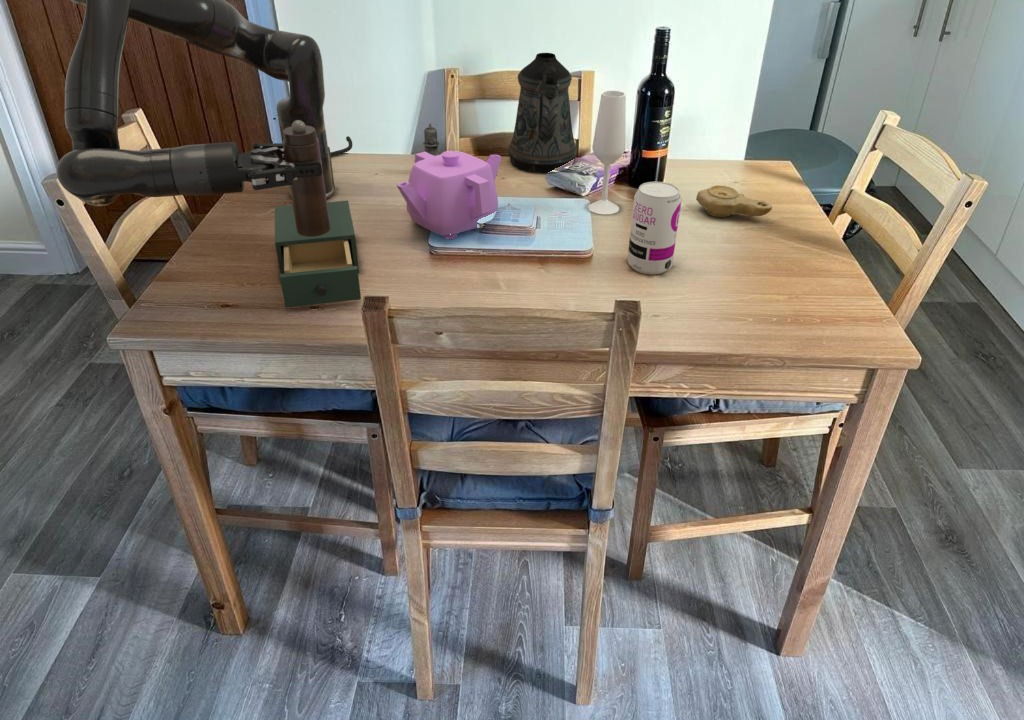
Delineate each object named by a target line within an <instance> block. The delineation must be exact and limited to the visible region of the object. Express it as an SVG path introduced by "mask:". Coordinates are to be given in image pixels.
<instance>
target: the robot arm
mask: <svg viewBox="0 0 1024 720" xmlns="http://www.w3.org/2000/svg"><path fill="white" fill-rule="evenodd" d="M70 1H71V2H72V3H74V4H76V5H79V6H81V7H85V10H84V16H83V22H82V26H81V30H80V33H79V36H78V39H77V42H76V43H75V47H74V50H73V52H72V55H71V57H70V60H69V63H68V66H67V67H68V68H67V71H66V75H65V76H66V77H65V82H64V83H65V85H64V124H65V128H66V130H67V132H68V134H69V137H70V138H71V142H72V151H69V152H67V153H66V154H64V155H63V156H62V157H61V158H60V160H59V161H58V163H57V166H56V177H57V179H58V182H59V183H60V185H61V186H62V188H63V189H64V190H65V191H66V192H68V193H69V194H70V195H72V196H74V197H75V198H77V199H79V200H80V201H82V202H83V203H85V204H87V205H89V206H94V207H104V206H109V205H110V204H113V203H114V202H115V201H116V200H117V199H118V198H119V196H120V195H128V194H131V195H132V194H134V195H140V196H142V197H147V198H164V197H165V198H167V197H177V196H178V197H179V196H194V197H195V196H196V197H197V196H198V197H199V196H211V195H224V194H234V193H236V194H237V193H242V192H243V191H244V190H245V183H246V182H248V183H251V185H252V190H254V191H261V190H267V189H274V188H280V187H286V186H288V188H290V185H292V184H293V180H297V179H298V178H300V177H313V176H321V175H322V170H323V177H324V185H325V192H326V200H328V199H330V198H331V197H333V196H334V193H335V189H336V188H335V187H336V185H335V179H334V178H335V177H334V171H333V163H332V157H334V156H339V155H343V154H345V153H348V152H350V151H351V150H352V149H353V141H352V138H351V137H350V136H349V135H348V136H346V137H345V140H346V142H347V143H348V145H347V147H345V148H342V149H338V150H333V151H331V148H330V146H329V144H328V137H327V136H328V135H327V129H326V128H327V127H326V122H325V115H324V105H325V98H326V91H325V90H326V89H325V77H324V64H323V56H322V52H321V49H320V46H319V44H318V43H317V42H316V39H314V38H313V37H311V36H310V35H306V34H302V33H296V32H290V31H284V30H278V29H273V28H268V27H265V26H262V25H260V24H257V23H254V22H252V21H250V20H248V19H246V18H245V17H244V16H243V15H242V14H241V13H240V11H238V9H236V7H235V6H233V5H232V4H231V3H229V2H228V1H227V0H70ZM129 20H130V21H133V22H136V23H139V24H141V25H144V26H146V27H148V28H151V29H153V30H156V31H159V32H160V33H163V34H166V35H169V36H171V37H174V38H175V39H176V38H177V39H179V40H181V41H183V42H185V43H188V44H189V45H193V46H195V47H197V48H200V49H203V50H205V51H208V52H212V53H214V54H218V55H220V56H224V57H229V58H233V59H237V60H240V61H242V62H244V63H246V64H248V65H249V66H251V67H253V68H255V69H256V70H258V71H260V72H262V73H263V74H266V75H267V76H269V77H271V78H273V79H275V80H279V81H283V82H288V88H289V96H287V97H284V98H282V99H279V101H277V103H276V112H277V113H276V114H277V119H278V126H279V132H280V137H281V143H280V142H279V143H278V142H277V143H274V142H273V143H270V142H269V143H268V142H267V143H265V142H263V143H258V142H256V143H252V145H251V147H252V149H251V150H250V151H245V152H240V151H239V148H238V145H237V144H236V143H235V142H233V141H229V142H227V141H226V142H215V143H214V142H213V143H212V142H211V143H197V144H187V145H182V146H181V145H180V146H177V147H168V148H167V147H166V148H151V149H144V150H143V149H142V150H133V149H124V148H121V146H120V140H119V121H120V120H119V117H120V115H119V114H120V113H119V112H120V110H119V109H120V107H119V106H120V99H119V98H120V77H121V76H120V74H121V64H122V58H123V51H124V45H125V40H126V34H127V28H128V22H129ZM296 120H300V121H302V122H303V123H304V124H305V125H306V126H311V127H314V128H315V132H316V137H317V138H318V140H319V147H320V155H321V162H322V167H321V162H320V161H306V162H296V165H295V163H294V162H286V161H285V154H284V148H283V140H284V135H283V130H284V129H285V128H288V127H291V126H292V123H293V122H294V121H296ZM297 177H298V178H297ZM289 195H290V197H291V191H290V190H289Z"/></svg>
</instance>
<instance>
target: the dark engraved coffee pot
mask: <svg viewBox="0 0 1024 720" xmlns="http://www.w3.org/2000/svg"><path fill="white" fill-rule="evenodd" d="M572 79H573V76H572V74H571V73H570V71H569V70H568V69H567V68H566V67H565V66H564V65H563V64H562V63H561V61H559V60H558V59H557V57H556V54H555V53H553V52H539V53H537V54H536V55H535V58H534V59H533V60H532V61H531V62H530V63H529V64H527V65H526V66H524V67H523V68H522V69H520V71H519V72H518V74H517V83H518V85H519V86H520V92H519V96H518V103H517V110H516V116H515V122H514V130H513V134H512V137H511V141H510V142H509V145H508V146H507V147H508V148H507V151H508V155H509V161H510V163H511V165H512V167H514V168H516V169H517V170H520V171H523V172H527V173H534V174H549V173H548V172H550V171H552V170H554V169H555V168H558V167H560V166H562V165H564V164H566V163H568V162H569V161H571V160H573V159H575V160H576V156H577V152H578V148H577V144H576V142H575V138H574V137H575V136H574V132H573V125H572V124H573V123H572V117H571V106H570V95H569V94H570V93H569V87H570V85H571V83H572V81H573V80H572Z"/></svg>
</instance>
